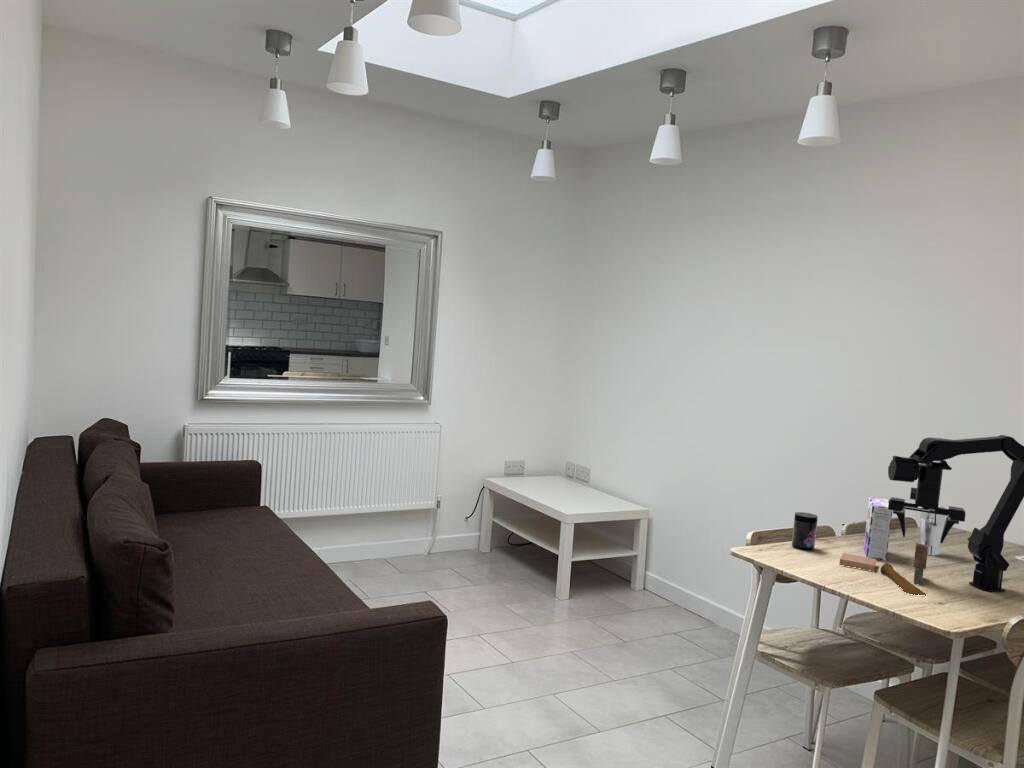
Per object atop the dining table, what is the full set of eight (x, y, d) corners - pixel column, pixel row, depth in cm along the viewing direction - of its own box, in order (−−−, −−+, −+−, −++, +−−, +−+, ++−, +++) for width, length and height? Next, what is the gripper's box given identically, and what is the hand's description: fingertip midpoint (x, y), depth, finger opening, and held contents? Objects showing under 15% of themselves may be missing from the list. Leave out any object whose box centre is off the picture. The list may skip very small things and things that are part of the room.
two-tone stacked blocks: (924, 578, 227) (928, 543, 226) (923, 586, 219) (928, 549, 218) (912, 575, 228) (916, 541, 227) (911, 583, 220) (915, 547, 219)
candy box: (862, 547, 256) (868, 496, 255) (883, 550, 254) (888, 499, 253) (865, 558, 243) (871, 504, 242) (887, 561, 241) (893, 507, 240)
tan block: (876, 559, 236) (843, 552, 240) (874, 565, 229) (840, 558, 233) (875, 566, 236) (842, 560, 240) (873, 573, 229) (839, 566, 233)
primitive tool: (928, 598, 209) (930, 585, 209) (907, 597, 209) (909, 583, 209) (891, 575, 228) (892, 563, 228) (872, 574, 228) (873, 562, 228)
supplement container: (799, 551, 246) (803, 517, 245) (786, 544, 252) (790, 511, 252) (818, 551, 247) (822, 517, 247) (805, 545, 254) (809, 512, 253)
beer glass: (934, 557, 251) (939, 509, 249) (912, 551, 256) (917, 504, 255) (945, 555, 255) (950, 508, 254) (923, 549, 260) (928, 503, 259)
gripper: (966, 485, 224) (959, 540, 225) (892, 474, 233) (886, 528, 234) (968, 491, 214) (961, 548, 216) (891, 480, 223) (884, 535, 224)
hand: (922, 539), depth 223 cm, fingers open, 9 cm apart
